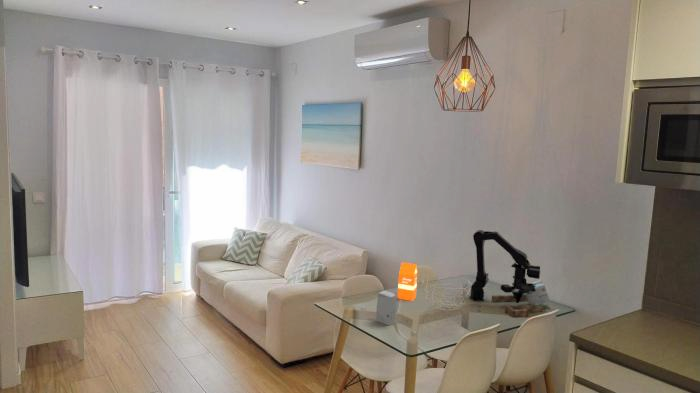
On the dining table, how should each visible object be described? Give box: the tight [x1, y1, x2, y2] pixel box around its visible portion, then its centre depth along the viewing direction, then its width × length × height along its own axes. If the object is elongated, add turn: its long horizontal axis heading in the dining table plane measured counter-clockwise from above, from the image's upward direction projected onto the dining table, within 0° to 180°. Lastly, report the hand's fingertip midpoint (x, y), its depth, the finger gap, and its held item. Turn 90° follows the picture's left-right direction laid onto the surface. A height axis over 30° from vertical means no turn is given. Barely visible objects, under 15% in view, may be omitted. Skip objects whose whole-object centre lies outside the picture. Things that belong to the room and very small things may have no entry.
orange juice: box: [397, 262, 418, 302], centre depth 284 cm, size 8×9×20 cm
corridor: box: [491, 293, 547, 318], centre depth 276 cm, size 23×23×4 cm
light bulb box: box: [525, 279, 551, 305], centre depth 280 cm, size 11×7×11 cm, turn 84°
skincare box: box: [375, 289, 398, 326], centre depth 248 cm, size 8×6×15 cm
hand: (517, 302), depth 279 cm, fingers closed
